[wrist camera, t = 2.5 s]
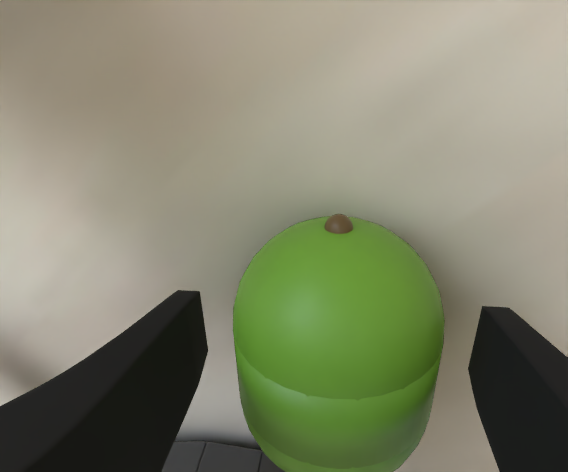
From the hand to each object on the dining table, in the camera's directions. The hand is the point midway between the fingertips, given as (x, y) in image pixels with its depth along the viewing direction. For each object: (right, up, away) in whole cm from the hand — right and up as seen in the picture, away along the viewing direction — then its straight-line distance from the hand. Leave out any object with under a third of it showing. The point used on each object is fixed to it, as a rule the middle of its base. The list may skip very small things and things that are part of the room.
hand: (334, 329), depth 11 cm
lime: (0, +1, +1) cm, 2 cm away
